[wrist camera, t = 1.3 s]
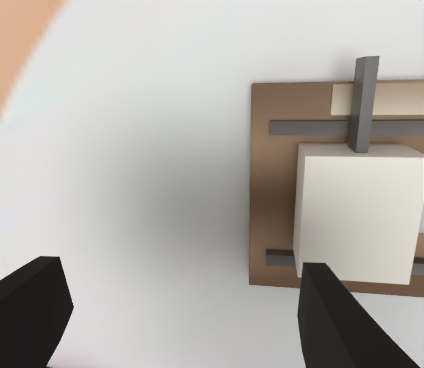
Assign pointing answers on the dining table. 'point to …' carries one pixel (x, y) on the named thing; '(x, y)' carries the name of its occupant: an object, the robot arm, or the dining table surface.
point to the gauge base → (288, 159)
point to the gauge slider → (359, 198)
